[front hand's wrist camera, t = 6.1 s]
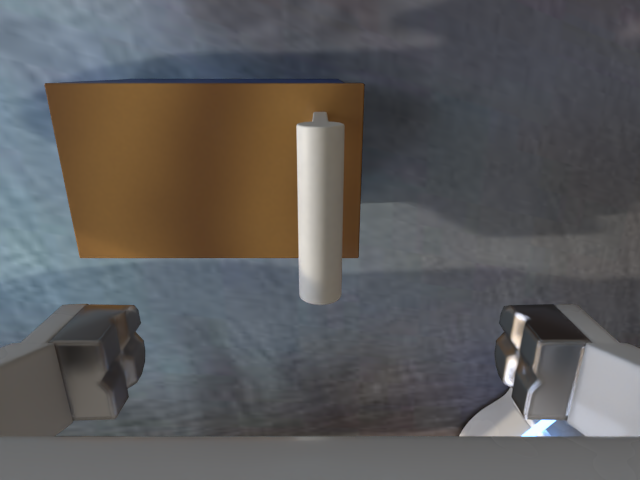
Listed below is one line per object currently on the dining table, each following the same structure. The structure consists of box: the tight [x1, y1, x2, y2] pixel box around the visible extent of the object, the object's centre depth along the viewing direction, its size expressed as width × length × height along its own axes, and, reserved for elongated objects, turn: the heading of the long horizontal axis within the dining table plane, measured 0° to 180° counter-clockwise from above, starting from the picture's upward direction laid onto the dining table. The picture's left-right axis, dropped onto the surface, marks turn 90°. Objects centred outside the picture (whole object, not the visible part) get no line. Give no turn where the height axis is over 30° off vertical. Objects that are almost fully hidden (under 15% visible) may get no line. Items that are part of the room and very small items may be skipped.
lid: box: [45, 83, 364, 305], centre depth 21 cm, size 16×10×9 cm, turn 90°
